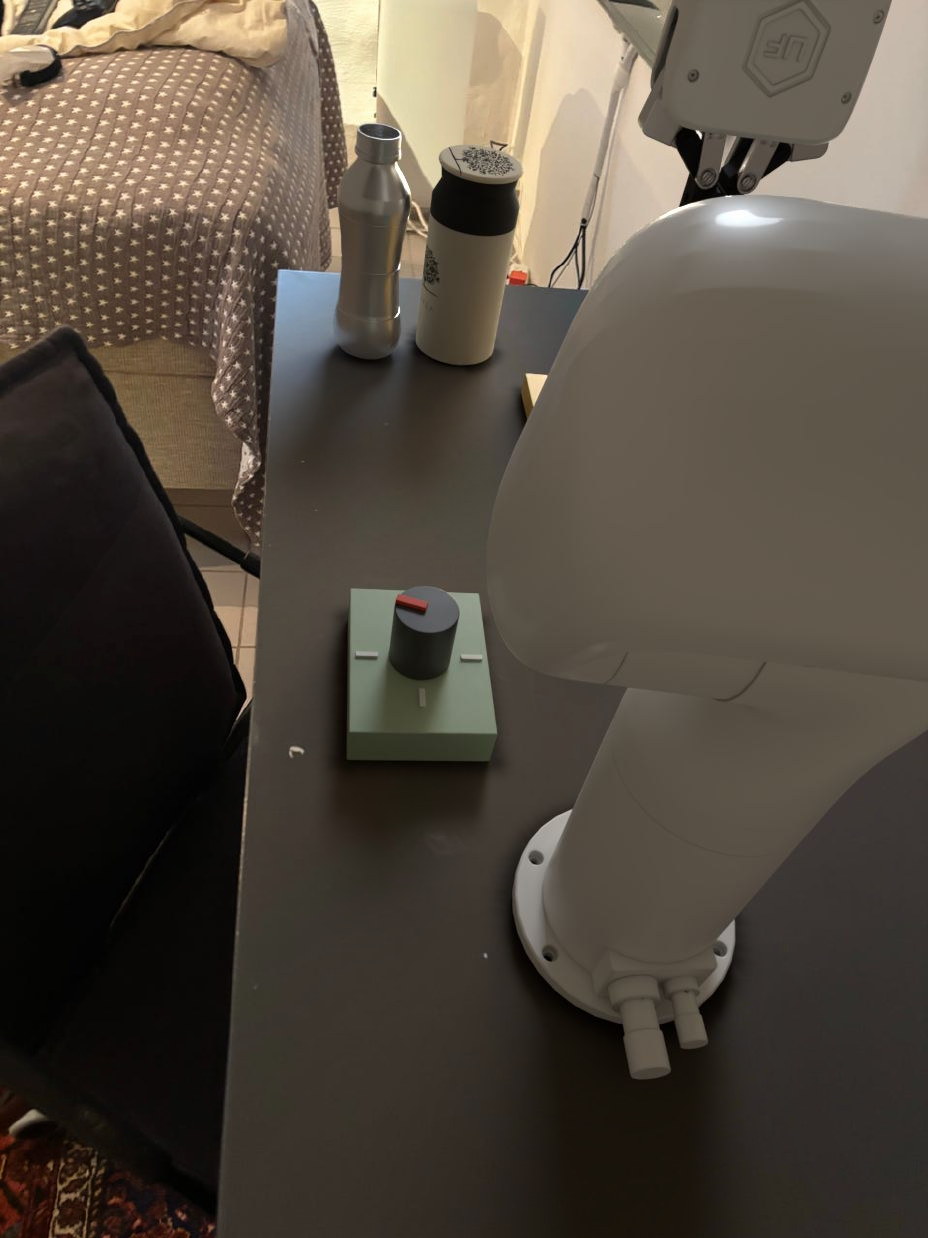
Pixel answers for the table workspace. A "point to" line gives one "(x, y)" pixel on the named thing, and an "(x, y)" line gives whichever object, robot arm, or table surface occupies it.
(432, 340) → the travel mug
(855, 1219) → the table surface
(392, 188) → the silver metal bottle
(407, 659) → the knob
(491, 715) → the panel
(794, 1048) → the table surface
